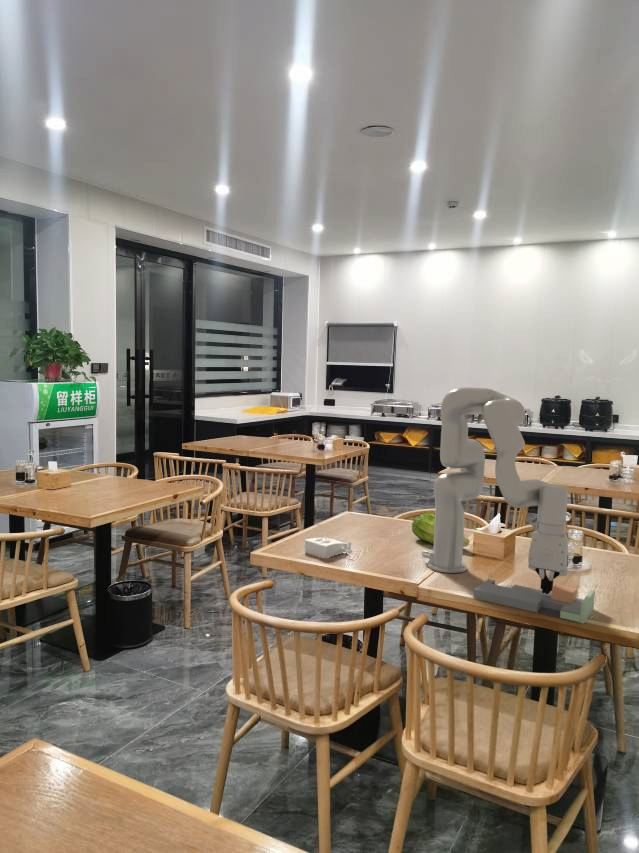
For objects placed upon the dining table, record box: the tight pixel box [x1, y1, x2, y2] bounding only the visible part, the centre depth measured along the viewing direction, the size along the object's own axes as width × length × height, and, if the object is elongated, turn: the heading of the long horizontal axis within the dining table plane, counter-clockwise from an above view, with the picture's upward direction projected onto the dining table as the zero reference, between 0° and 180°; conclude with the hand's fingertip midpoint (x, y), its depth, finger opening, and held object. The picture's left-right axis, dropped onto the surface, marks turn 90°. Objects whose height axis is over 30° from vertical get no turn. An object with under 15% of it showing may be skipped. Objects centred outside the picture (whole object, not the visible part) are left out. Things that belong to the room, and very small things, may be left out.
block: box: [551, 584, 578, 604], centre depth 178 cm, size 6×6×3 cm
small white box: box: [304, 533, 353, 559], centre depth 224 cm, size 8×20×16 cm
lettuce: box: [411, 512, 470, 548], centre depth 239 cm, size 12×24×13 cm
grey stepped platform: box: [472, 578, 596, 624], centre depth 180 cm, size 30×13×6 cm, turn 56°
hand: (546, 592), depth 181 cm, fingers closed
